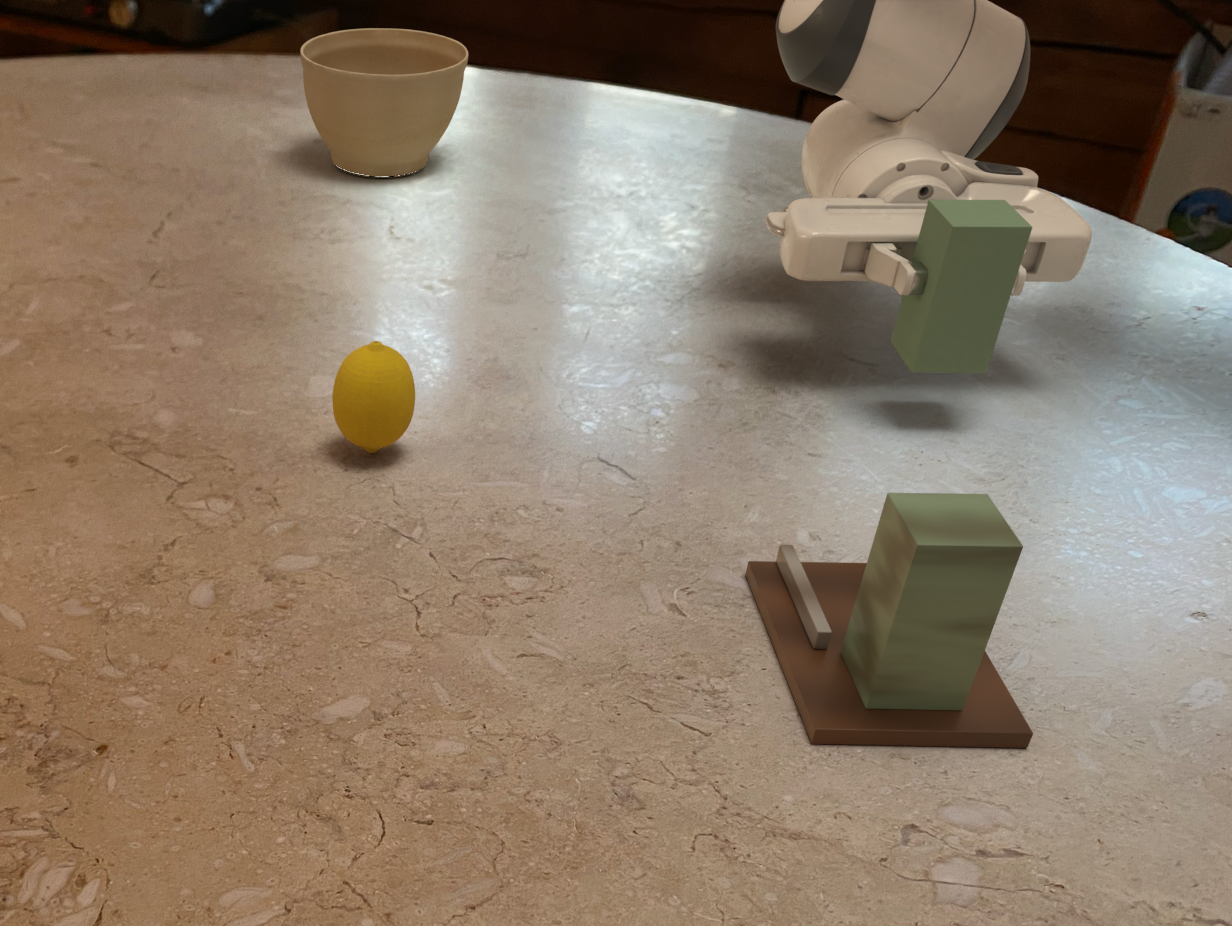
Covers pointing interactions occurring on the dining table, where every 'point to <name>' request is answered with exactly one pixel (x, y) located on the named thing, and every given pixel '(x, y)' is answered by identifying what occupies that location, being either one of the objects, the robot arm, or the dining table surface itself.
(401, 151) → the planter bowl
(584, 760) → the dining table surface
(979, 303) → the back pad
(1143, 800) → the dining table surface
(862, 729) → the mount board
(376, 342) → the lemon
